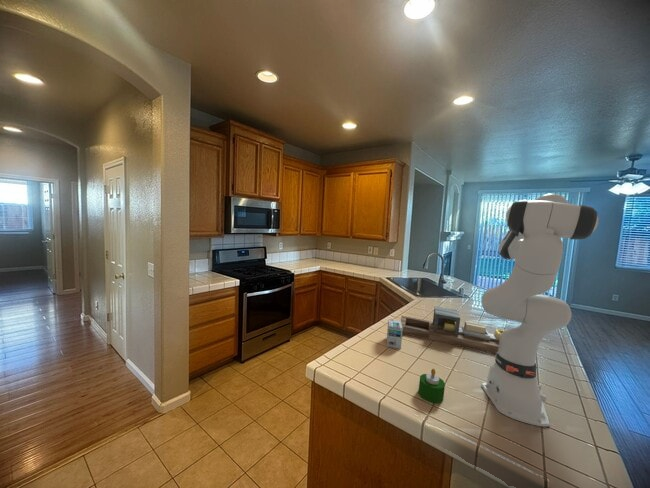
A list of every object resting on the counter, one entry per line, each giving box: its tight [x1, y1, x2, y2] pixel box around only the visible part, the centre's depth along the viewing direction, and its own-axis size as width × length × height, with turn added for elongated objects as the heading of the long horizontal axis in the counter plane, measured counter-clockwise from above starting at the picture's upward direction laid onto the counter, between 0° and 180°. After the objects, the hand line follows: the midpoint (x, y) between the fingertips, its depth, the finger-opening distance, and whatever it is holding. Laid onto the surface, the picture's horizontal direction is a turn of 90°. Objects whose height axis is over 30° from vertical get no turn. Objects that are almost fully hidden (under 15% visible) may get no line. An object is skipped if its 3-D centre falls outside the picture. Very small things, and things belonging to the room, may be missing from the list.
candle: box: [417, 368, 446, 404], centre depth 91 cm, size 8×8×10 cm
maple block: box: [463, 320, 487, 334], centre depth 137 cm, size 6×9×6 cm, turn 69°
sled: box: [442, 319, 505, 341], centre depth 137 cm, size 9×32×4 cm, turn 69°
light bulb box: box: [386, 318, 403, 350], centre depth 129 cm, size 11×7×11 cm, turn 169°
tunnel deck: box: [400, 306, 499, 355], centre depth 142 cm, size 18×54×14 cm, turn 69°
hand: (525, 295), depth 122 cm, fingers closed
